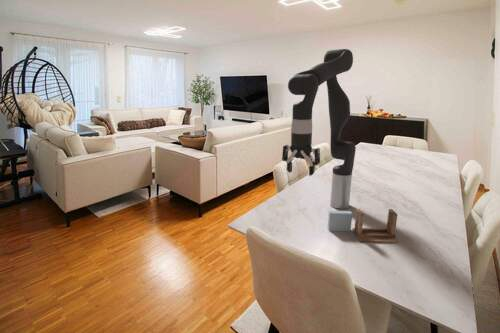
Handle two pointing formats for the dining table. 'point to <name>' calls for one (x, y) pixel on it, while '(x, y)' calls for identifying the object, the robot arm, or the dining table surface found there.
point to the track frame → (376, 229)
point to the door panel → (339, 220)
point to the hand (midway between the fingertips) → (300, 173)
